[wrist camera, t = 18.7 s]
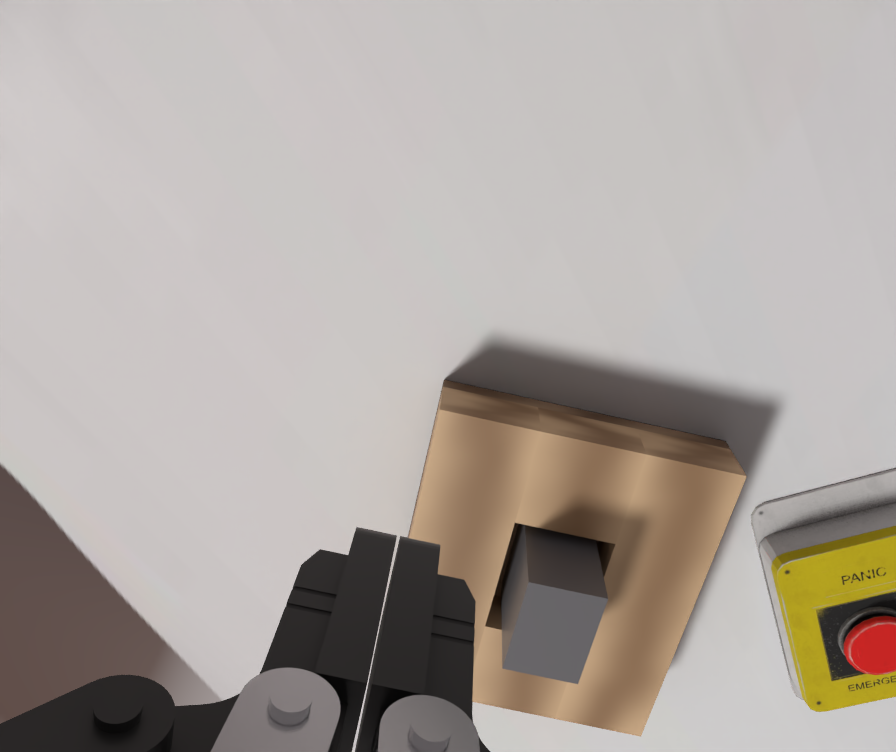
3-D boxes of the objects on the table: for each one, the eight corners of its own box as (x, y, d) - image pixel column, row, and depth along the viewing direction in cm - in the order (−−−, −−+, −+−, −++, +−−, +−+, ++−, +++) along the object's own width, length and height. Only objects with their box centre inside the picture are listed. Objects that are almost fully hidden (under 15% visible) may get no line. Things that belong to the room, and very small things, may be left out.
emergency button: (818, 751, 47) (768, 545, 42) (792, 695, 51) (744, 502, 46) (983, 717, 46) (953, 499, 41) (943, 663, 50) (911, 459, 45)
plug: (501, 585, 47) (502, 668, 41) (523, 506, 45) (528, 582, 39) (566, 598, 48) (577, 684, 41) (591, 521, 45) (608, 598, 39)
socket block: (385, 635, 51) (376, 681, 47) (444, 379, 44) (439, 409, 40) (630, 687, 51) (640, 736, 47) (725, 441, 44) (746, 476, 41)
